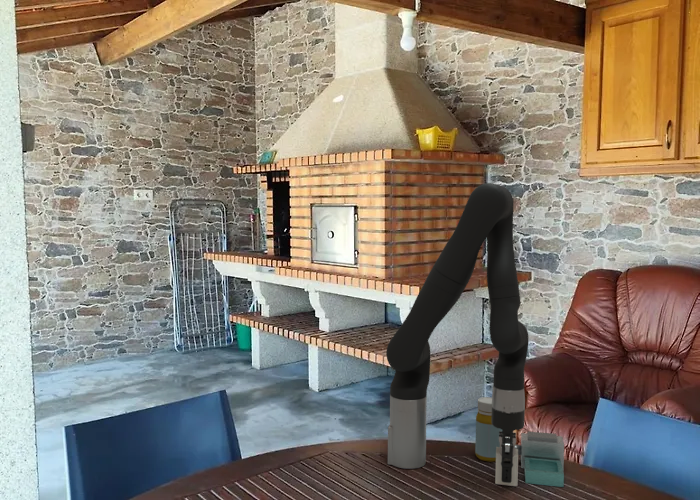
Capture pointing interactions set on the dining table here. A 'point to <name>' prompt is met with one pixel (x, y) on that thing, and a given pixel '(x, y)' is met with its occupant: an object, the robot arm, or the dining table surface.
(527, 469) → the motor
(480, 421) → the bottle
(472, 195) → the robot arm
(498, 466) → the white cube with peg
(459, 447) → the dining table surface
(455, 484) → the dining table surface
